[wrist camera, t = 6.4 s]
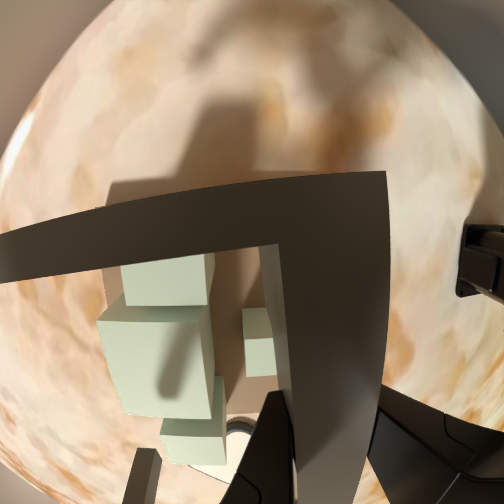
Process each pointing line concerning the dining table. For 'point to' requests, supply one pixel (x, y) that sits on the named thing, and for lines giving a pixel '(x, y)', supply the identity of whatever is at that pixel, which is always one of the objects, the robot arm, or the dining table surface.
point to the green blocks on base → (189, 346)
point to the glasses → (275, 293)
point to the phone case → (230, 452)
